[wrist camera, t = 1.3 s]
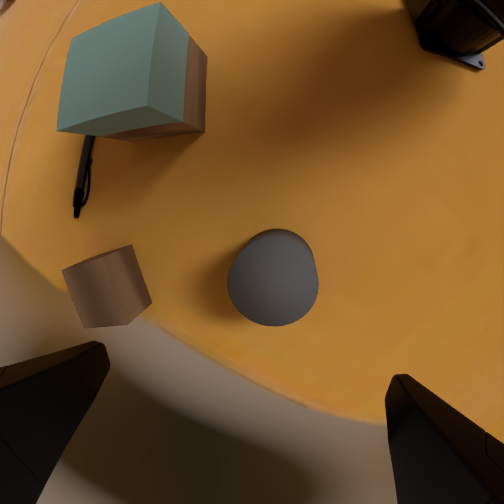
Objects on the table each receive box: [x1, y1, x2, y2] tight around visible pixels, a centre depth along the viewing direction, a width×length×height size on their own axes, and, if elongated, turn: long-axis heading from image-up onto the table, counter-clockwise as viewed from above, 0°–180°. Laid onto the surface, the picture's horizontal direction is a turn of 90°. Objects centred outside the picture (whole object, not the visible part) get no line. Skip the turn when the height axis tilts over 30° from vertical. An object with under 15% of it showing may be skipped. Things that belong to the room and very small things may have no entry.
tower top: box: [57, 2, 189, 136], centre depth 11 cm, size 6×6×4 cm
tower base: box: [100, 35, 207, 141], centre depth 15 cm, size 6×6×4 cm
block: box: [62, 244, 152, 328], centre depth 19 cm, size 5×5×4 cm
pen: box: [73, 135, 95, 218], centre depth 18 cm, size 14×2×1 cm, turn 163°
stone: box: [228, 229, 319, 326], centre depth 17 cm, size 5×5×4 cm
